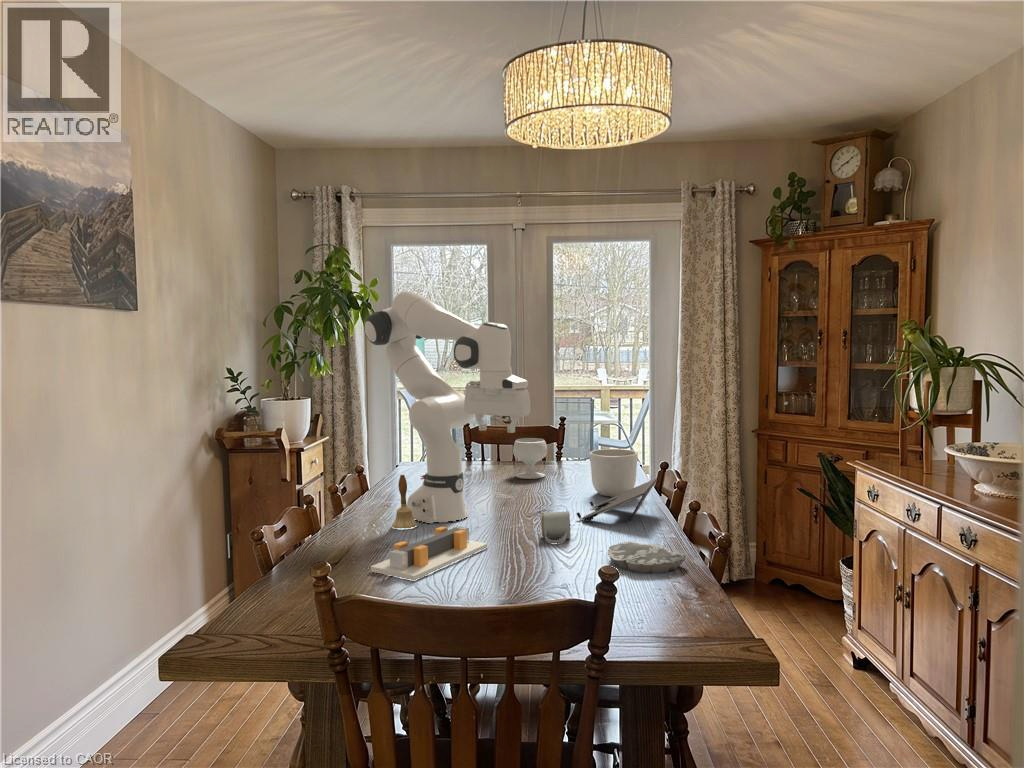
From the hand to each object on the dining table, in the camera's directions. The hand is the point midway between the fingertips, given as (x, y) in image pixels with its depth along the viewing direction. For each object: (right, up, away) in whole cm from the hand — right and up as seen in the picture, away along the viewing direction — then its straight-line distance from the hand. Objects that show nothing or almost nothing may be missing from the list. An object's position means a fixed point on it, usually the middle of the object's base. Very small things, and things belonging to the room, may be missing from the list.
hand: (496, 431), depth 197 cm
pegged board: (-17, -32, -13) cm, 39 cm away
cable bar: (-17, -31, -13) cm, 37 cm away
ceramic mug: (+17, -31, +4) cm, 35 cm away
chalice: (+12, -25, +93) cm, 96 cm away
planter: (+41, -27, +58) cm, 76 cm away
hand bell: (-29, -31, +20) cm, 46 cm away
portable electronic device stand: (+37, -29, +28) cm, 55 cm away
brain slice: (+37, -32, -19) cm, 53 cm away
